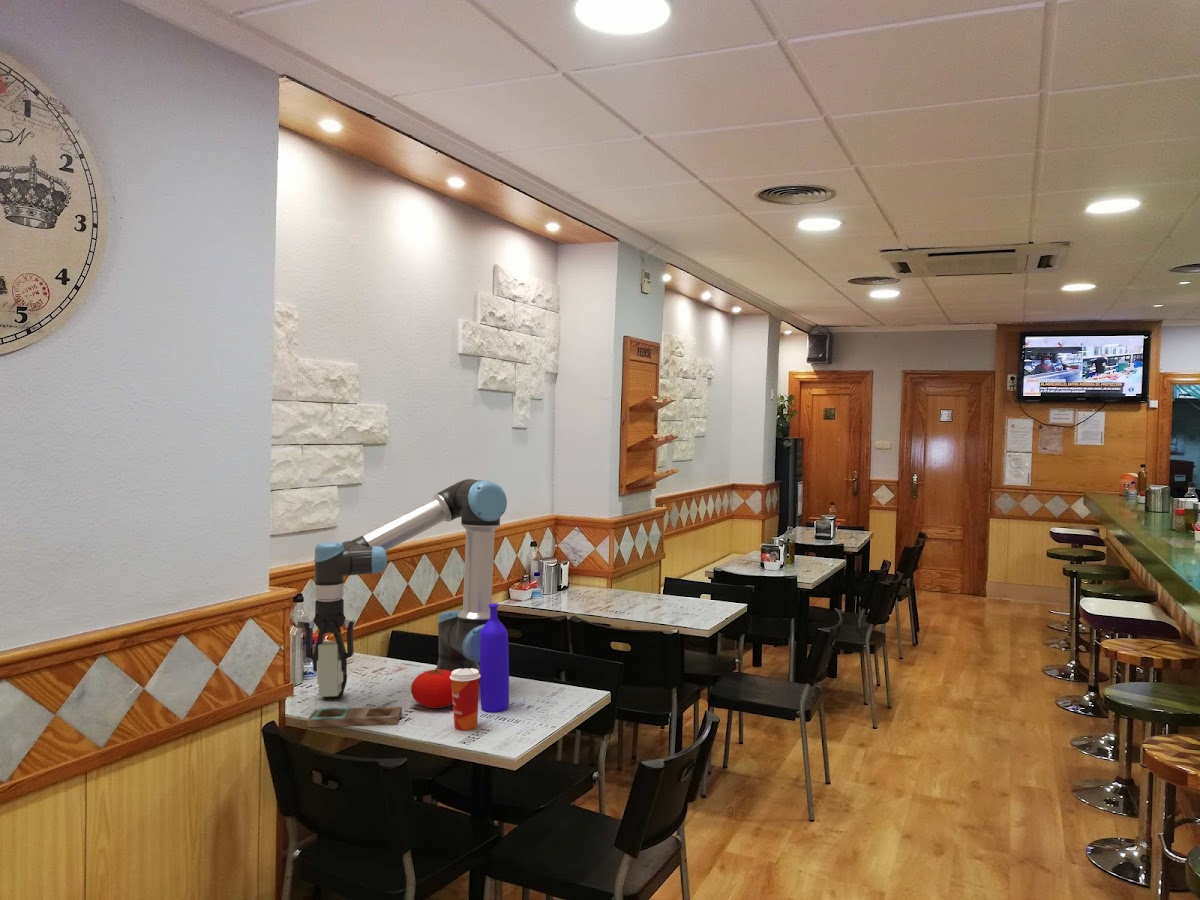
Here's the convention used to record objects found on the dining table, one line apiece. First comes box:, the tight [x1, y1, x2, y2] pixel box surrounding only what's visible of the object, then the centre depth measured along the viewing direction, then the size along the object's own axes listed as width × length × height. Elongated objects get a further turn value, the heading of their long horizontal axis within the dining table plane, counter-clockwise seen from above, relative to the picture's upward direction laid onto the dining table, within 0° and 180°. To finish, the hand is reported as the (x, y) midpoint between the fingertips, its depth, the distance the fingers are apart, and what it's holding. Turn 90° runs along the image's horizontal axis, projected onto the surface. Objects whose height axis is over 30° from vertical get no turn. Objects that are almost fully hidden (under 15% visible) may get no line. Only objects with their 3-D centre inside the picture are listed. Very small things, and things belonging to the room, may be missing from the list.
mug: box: [322, 669, 348, 702], centre depth 265 cm, size 8×12×10 cm
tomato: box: [410, 668, 453, 709], centre depth 258 cm, size 14×13×10 cm
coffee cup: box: [450, 668, 480, 731], centre depth 239 cm, size 8×8×15 cm
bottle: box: [479, 603, 510, 713], centre depth 254 cm, size 8×8×30 cm
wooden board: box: [306, 706, 403, 728], centre depth 245 cm, size 24×9×2 cm, turn 94°
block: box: [318, 640, 341, 697], centre depth 244 cm, size 5×5×14 cm
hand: (330, 682), depth 245 cm, fingers closed on block, 5 cm apart
